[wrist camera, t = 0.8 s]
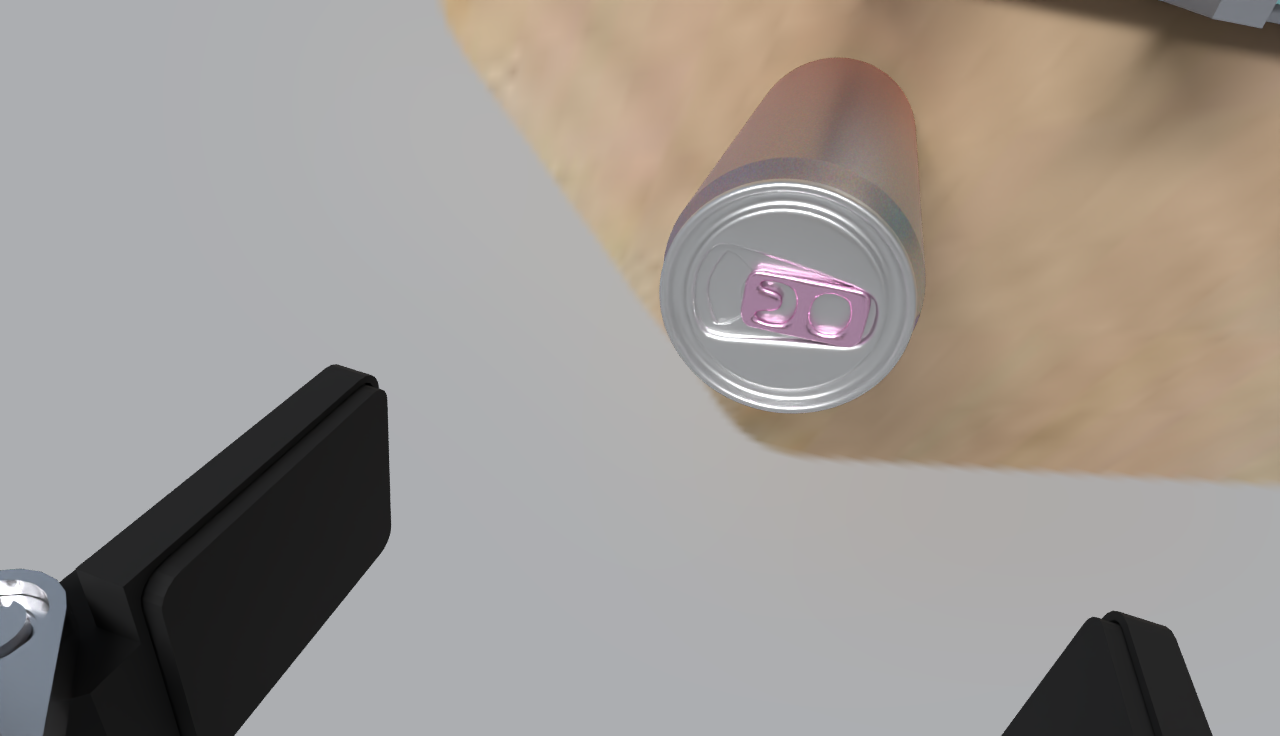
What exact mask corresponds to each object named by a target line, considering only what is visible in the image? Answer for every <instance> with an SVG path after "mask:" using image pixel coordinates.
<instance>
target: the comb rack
mask: <svg viewBox="0 0 1280 736" xmlns="http://www.w3.org/2000/svg"><path fill="white" fill-rule="evenodd" d="M1160 1H1164V2H1167V3H1169V4H1172V5H1175V6H1178V7H1181V8H1184V9H1186V10H1189V11H1192V12H1195V13H1198V14H1200V15H1203V16H1206V17H1209V18H1212V19H1216V20H1221V21H1226V22H1231V23H1237V24H1242V25H1247V26H1252V27H1257V28H1263V26H1264V24H1265V22H1272V23H1277V24H1280V0H1160Z"/></svg>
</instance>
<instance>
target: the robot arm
mask: <svg viewBox="0 0 1280 736" xmlns="http://www.w3.org/2000/svg"><path fill="white" fill-rule="evenodd" d="M389 475H390V474H389V441H388V407H387V395H386V393H385V391H383V390H381V389H379V386H378V382H377V380H376V378H375V377H373V376H372V375H369V374H366V373H363V372H359V371H356V370H353V369H350V368H347V367H344V366H340V365H337V364H336V365H331V366H329V367H327V368H325V369H324V370H323V371H322V372H320V373H319V374H318V375H317V376H315V377H314V378H313V379H312V380H310V381H309V382H308V383H307V384H305V385H304V386H303V387H302V388H300V389H299V390H298V391H297V392H295V393H294V394H293V395H292V396H290V397H289V398H288V399H287V400H285V401H284V402H283V403H282V404H280V405H279V406H278V407H277V408H276V409H274V410H273V411H272V412H270V413H269V414H268V415H267V416H265V417H264V418H263V419H262V420H260V421H259V422H258V423H257V424H255V425H254V426H253V427H252V428H251V429H249V430H248V431H247V432H245V433H244V434H243V435H242V436H240V437H239V438H238V439H237V440H235V441H234V442H233V443H232V444H230V445H229V446H228V447H227V448H226V449H224V450H223V451H222V452H221V453H219V454H218V455H217V456H215V457H214V458H213V459H212V460H211V461H209V462H208V463H207V464H206V465H204V466H203V467H202V468H201V469H199V470H198V471H197V472H196V473H194V474H193V475H192V476H191V477H189V478H188V479H187V480H186V481H184V482H183V483H182V484H181V485H180V486H178V487H177V488H176V489H174V490H173V491H172V492H171V493H169V494H168V495H167V496H166V497H164V498H163V499H162V500H161V501H159V502H158V503H157V504H156V505H154V506H153V507H152V508H151V509H149V510H148V511H147V512H146V513H144V514H143V515H142V516H141V517H139V518H138V519H137V520H136V521H134V522H133V523H132V524H131V525H129V526H128V527H127V528H126V529H124V530H123V531H122V532H121V533H119V534H118V535H117V536H116V537H114V538H113V539H112V540H111V541H109V542H108V543H107V544H106V545H105V546H103V547H102V548H101V549H100V550H98V551H97V552H96V553H94V554H93V555H92V556H91V557H90V558H88V559H87V560H86V561H85V562H83V563H82V564H81V565H79V566H78V567H77V568H76V570H74V571H73V572H72V573H71V574H69V575H68V576H67V577H66V578H64V579H63V580H62V581H61V582H58V580H57V579H54V578H53V577H51V576H49V575H47V574H45V573H43V572H40V571H32V570H26V569H10V570H0V736H234V735H235V734H236V733H237V731H238V730H239V729H240V728H241V726H242V725H243V724H244V723H245V721H246V720H247V719H248V718H249V716H250V715H251V714H252V713H253V711H254V710H255V709H256V708H257V706H258V705H259V704H260V703H261V701H262V700H263V699H264V697H265V696H266V695H267V694H268V693H269V692H270V690H271V689H272V688H273V687H274V685H275V684H276V683H277V681H278V680H279V679H280V678H281V677H282V675H283V674H284V673H285V672H286V670H287V669H288V668H289V667H290V665H291V664H292V663H293V662H294V660H295V659H296V658H297V657H298V655H299V654H300V653H301V652H302V650H303V649H304V648H305V647H306V645H307V644H308V643H309V642H310V641H311V639H312V638H313V637H314V636H315V634H316V633H317V632H318V631H319V629H320V628H321V627H322V626H323V624H324V623H325V622H326V621H327V619H328V618H329V617H330V616H331V614H332V613H333V612H334V611H335V610H336V608H337V607H338V606H339V605H340V603H341V602H342V601H343V600H344V598H345V597H346V596H347V595H348V593H349V592H350V591H351V590H352V588H353V587H354V586H355V585H356V583H357V582H358V581H359V580H360V578H361V577H362V576H363V575H364V573H365V572H366V571H367V570H368V569H369V567H370V566H371V565H372V563H373V562H374V561H375V560H376V558H377V557H378V556H379V555H380V554H381V552H382V551H383V549H384V547H385V545H386V544H387V541H388V539H389V536H390V531H391V511H390V510H391V509H390V476H389ZM1002 736H1212V733H1211V730H1210V728H1209V725H1208V722H1207V720H1206V717H1205V715H1204V712H1203V709H1202V707H1201V704H1200V701H1199V699H1198V696H1197V693H1196V691H1195V688H1194V686H1193V683H1192V680H1191V677H1190V675H1189V672H1188V670H1187V667H1186V664H1185V662H1184V659H1183V656H1182V654H1181V651H1180V648H1179V646H1178V643H1177V640H1176V638H1175V636H1174V634H1173V633H1172V631H1171V630H1170V629H1168V628H1167V627H1166V626H1163V625H1159V624H1156V623H1153V622H1150V621H1147V620H1144V619H1140V618H1137V617H1134V616H1131V615H1128V614H1124V613H1121V612H1118V611H1111V612H1109V613H1107V614H1106V615H1105V616H1104V617H1103V618H1102V619H1100V618H1097V617H1091V618H1089V619H1088V620H1087V621H1086V622H1085V623H1084V624H1083V626H1082V627H1081V628H1080V630H1079V631H1078V632H1077V634H1076V635H1075V636H1074V638H1073V639H1072V641H1071V642H1070V643H1069V645H1068V646H1067V647H1066V649H1065V650H1064V652H1063V653H1062V654H1061V656H1060V657H1059V658H1058V660H1057V661H1056V662H1055V664H1054V665H1053V666H1052V668H1051V669H1050V670H1049V672H1048V673H1047V674H1046V676H1045V677H1044V679H1043V680H1042V681H1041V683H1040V684H1039V686H1038V687H1037V688H1036V689H1035V691H1034V692H1033V693H1032V695H1031V696H1030V698H1029V699H1028V700H1027V702H1026V703H1025V704H1024V706H1023V707H1022V709H1021V710H1020V711H1019V712H1018V714H1017V715H1016V717H1015V718H1014V719H1013V721H1012V722H1011V723H1010V725H1009V726H1008V727H1007V729H1006V730H1005V731H1004V733H1003V734H1002Z"/></svg>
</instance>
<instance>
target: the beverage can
mask: <svg viewBox="0 0 1280 736" xmlns="http://www.w3.org/2000/svg"><path fill="white" fill-rule="evenodd" d="M925 285H926V276H925V260H924V245H923V230H922V215H921V200H920V185H919V170H918V155H917V140H916V127H915V120H914V116H913V112H912V109H911V106H910V104H909V102H908V99H907V98H906V96H905V94H904V93H903V91H902V90H901V88H900V87H899V86H898V85H897V83H896V82H895V81H894V80H893V79H892V78H891V77H889V76H888V75H887V74H886V73H884V72H883V71H881V70H880V69H878V68H876V67H875V66H873V65H870V64H868V63H865V62H863V61H859V60H855V59H850V58H826V59H820V60H816V61H813V62H809V63H807V64H804V65H802V66H800V67H798V68H796V69H794V70H793V71H791V72H789V73H788V74H787V75H785V76H784V77H783V78H781V79H780V80H779V81H778V82H777V83H776V84H775V85H774V86H773V87H772V88H771V89H770V91H769V92H768V93H767V95H766V96H765V97H764V99H763V100H762V102H761V103H760V104H759V106H758V107H757V109H756V110H755V111H754V113H753V114H752V116H751V117H750V118H749V120H748V121H747V122H746V124H745V125H744V127H743V128H742V129H741V131H740V132H739V134H738V135H737V136H736V138H735V139H734V141H733V142H732V143H731V145H730V146H729V147H728V149H727V150H726V152H725V153H724V154H723V156H722V157H721V159H720V160H719V161H718V163H717V164H716V166H715V167H714V168H713V170H712V171H711V173H710V174H709V175H708V177H707V178H706V179H705V181H704V182H703V184H702V185H701V186H700V188H699V189H698V191H697V192H696V193H695V195H694V196H693V198H692V199H691V200H690V202H689V203H688V205H687V206H686V207H685V209H684V210H683V212H682V213H681V215H680V216H679V218H678V220H677V222H676V223H675V225H674V227H673V230H672V232H671V234H670V237H669V240H668V243H667V247H666V251H665V257H664V264H663V268H662V272H661V279H660V307H661V313H662V318H663V321H664V325H665V328H666V331H667V333H668V336H669V338H670V340H671V342H672V344H673V346H674V348H675V349H676V351H677V352H678V354H679V356H680V357H681V358H682V359H683V361H684V362H685V364H686V365H687V366H688V367H689V368H690V369H691V370H692V371H693V372H694V373H695V374H696V375H697V376H698V377H699V378H700V379H701V380H702V381H703V382H704V383H706V384H707V385H708V386H710V387H711V388H713V389H714V390H716V391H717V392H719V393H720V394H722V395H724V396H725V397H727V398H729V399H732V400H734V401H736V402H738V403H741V404H743V405H746V406H749V407H752V408H756V409H760V410H764V411H769V412H777V413H809V412H816V411H821V410H826V409H829V408H833V407H836V406H839V405H842V404H844V403H847V402H849V401H851V400H853V399H855V398H857V397H859V396H861V395H862V394H864V393H866V392H867V391H869V390H870V389H871V388H873V387H874V386H875V385H877V384H878V383H879V382H880V381H881V380H882V379H883V378H884V377H885V376H886V375H887V374H888V373H889V372H890V371H891V370H892V369H893V367H894V366H895V365H896V363H897V362H898V361H899V359H900V358H901V356H902V354H903V352H904V351H905V349H906V347H907V345H908V342H909V340H910V337H911V335H912V332H913V330H914V328H915V326H916V323H917V321H918V318H919V316H920V313H921V309H922V306H923V301H924V295H925Z"/></svg>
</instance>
